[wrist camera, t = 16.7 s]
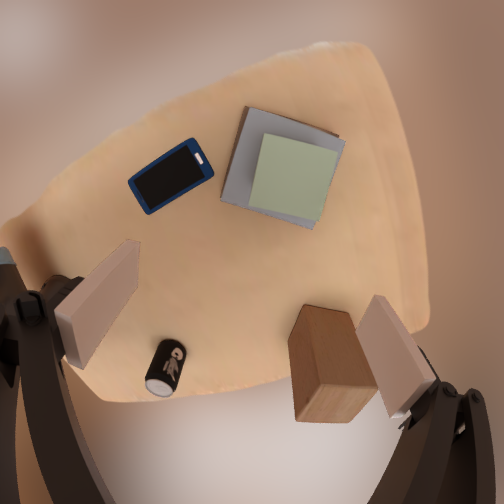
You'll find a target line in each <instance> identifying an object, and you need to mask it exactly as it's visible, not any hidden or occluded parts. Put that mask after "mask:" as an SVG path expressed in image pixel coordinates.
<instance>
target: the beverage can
mask: <svg viewBox="0 0 504 504" xmlns="http://www.w3.org/2000/svg"><path fill="white" fill-rule="evenodd" d="M185 358H186V351H185V349H184V348H183V347H182V345H181V344H179V343H178V342H175V341H171V340H167V341H163V342H161V343H160V344H159V346H158V348H157V350H156V353H155V355H154V357H153V360H152V362H151V364H150V367H149V369H148V372H147V374H146V376H145V381H146V382H145V387H146V389H147V390H148V391H149V392H150V393H152V394H153V395H155V396H158V397H162V398H168V397H170V396H172V394H173V392H175V390H176V388H177V385H178V382H179V378H180V375H181V371H182V368H183V365H184V362H185Z"/></svg>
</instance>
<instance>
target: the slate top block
mask: <svg viewBox="0 0 504 504" xmlns="http://www.w3.org/2000/svg"><path fill="white" fill-rule="evenodd" d="M264 133H266V134H271V135H275V136H280V137H284V138H288V139H292V140H296V141H300V142H304V143H307V144H311V145H315V146H318V147H322V148H325V149H329V150H332V151H335V152H338V155H337V159H336V163H335V167H334V171H333V174H332V178H333V176H334V173H335V170H336V167H337V165H338V162H339V159H340V156H341V154H342V151H343V148H344V145H345V142H346V141H344V140H342V139H339V138H337V137H335V136H332V135H330V134H327V133H325V132H322V131H320V130H317V129H315V128H312V127H309V126H307V125H304V124H301V123H299V122H296V121H293V120H290V119H287V118H284V117H281V116H278V115H275V114H272V113H269V112H266V111H262V110H259V109H256V108H252V107H250V108H249V111H248V114H247V117H246V120H245V123H244V126H243V130H242V133H241V136H240V139H239V142H238V145H237V148H236V151H235V155H234V158H233V161H232V164H231V167H230V171H229V174H228V177H227V181H226V184H225V187H224V191H223V194H222V198H221V201H223V202H226V203H229V204H233V205H236V206H239V207H242V208H246V209H249V210H252V211H255V212H259V213H262V214H265V215H268V216H271V217H274V218H278V219H281V220H284V221H287V222H290V223H293V224H296V225H299V226H302V227H305V228H308V229H311V230H313V227H314V225H315V222H316V221H314V220H310V219H306V218H302V217H298V216H293V215H289V214H285V213H280V212H276V211H271V210H267V209H262V208H257V207H253V206H248V205H249V200H250V195H251V189H252V184H253V180H254V175H255V171H256V166H257V162H258V157H259V153H260V148H261V144H262V139H263V135H264ZM332 178H331V181H332ZM330 184H331V182H330ZM329 186H330V185H329Z"/></svg>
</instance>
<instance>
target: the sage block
mask: <svg viewBox="0 0 504 504" xmlns="http://www.w3.org/2000/svg"><path fill="white" fill-rule="evenodd" d="M337 155H338V152H335V151H332V150H329V149H325V148H322V147H318V146H315V145H311V144H307V143H304V142H300V141H296V140H292V139H288V138H284V137H280V136H275V135H271V134H266V133H264V135H263V139H262V144H261V148H260V153H259V157H258V162H257V166H256V171H255V175H254V180H253V184H252V189H251V195H250V200H249V205H248V206H253V207H257V208H262V209H267V210H271V211H276V212H280V213H285V214H289V215H293V216H298V217H302V218H306V219H310V220H314V221H319V220H320V217H321V213H322V210H323V207H324V203H325V200H326V196H327V193H328V189H329V185H330V182H331V178H332V174H333V171H334V167H335V163H336V159H337Z"/></svg>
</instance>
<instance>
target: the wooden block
mask: <svg viewBox="0 0 504 504" xmlns="http://www.w3.org/2000/svg"><path fill="white" fill-rule="evenodd" d="M355 331H356V329H355V327H354V325H353V322H352V320H351V318H350V315H349V314H348V313H344V312H339V311H334V310H328V309H323V308H318V307H313V306H308V305H304V306H303V307H302V310H301V312H300V314H299V317H298V319H297V322H296V324H295V326H294V328H293V331H292V333H291V335H290V338H289V340H288V348H289V358H290V368H291V378H292V388H293V398H294V409H295V420H296V421H297V422H312V423H349V422H350V421H351V420H352V419H353V418H354V417H355V416H356V415H357V414H358V413H359V412H360V411H361V409H362V408H363V407H364V406H365V405H366V404H367V403H368V401H369V400H370V399H371V398H372V397H373V396H374V395H375V393H376V392H377V391H378V386H377V383H376V380H375V378H374V375H373V373H372V370H371V368H370V366H369V363H368V361H367V358H366V356H365V354H364V351H363V349H362V346H361V344H360V342H359V339H358V337H357V335H356V333H355Z"/></svg>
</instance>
